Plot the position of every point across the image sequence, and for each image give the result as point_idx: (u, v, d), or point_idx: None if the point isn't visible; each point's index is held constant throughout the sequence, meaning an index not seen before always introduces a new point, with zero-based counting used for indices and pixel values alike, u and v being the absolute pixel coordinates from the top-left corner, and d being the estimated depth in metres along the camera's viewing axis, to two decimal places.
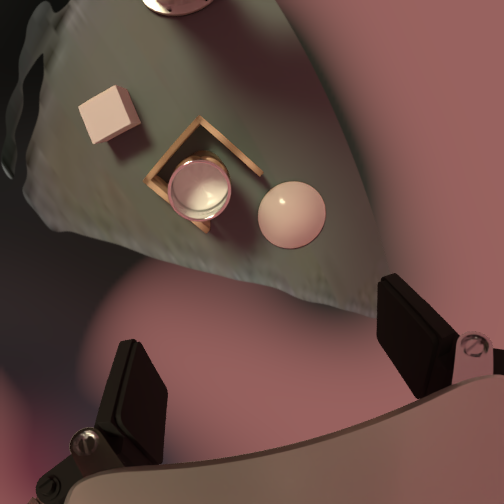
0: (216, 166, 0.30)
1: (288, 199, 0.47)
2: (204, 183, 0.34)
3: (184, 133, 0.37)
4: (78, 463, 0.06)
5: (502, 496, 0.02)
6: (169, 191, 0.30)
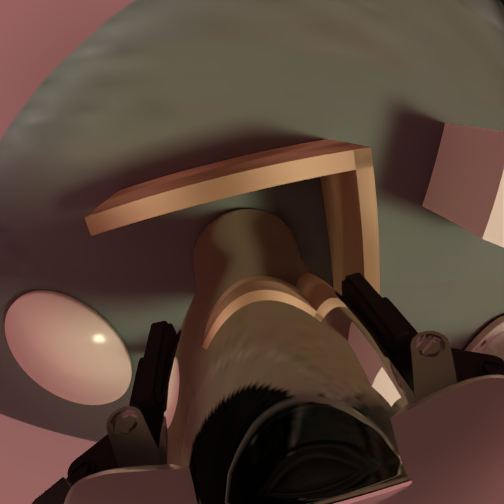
0: None
1: (96, 368, 0.19)
2: None
3: None
4: (112, 441, 0.06)
5: (502, 496, 0.02)
6: None
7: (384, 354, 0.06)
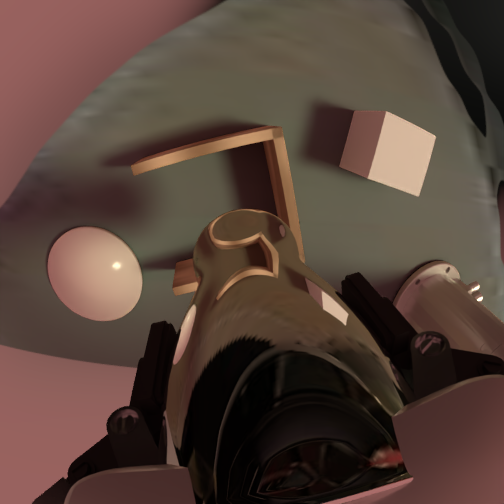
0: None
1: (117, 284, 0.30)
2: None
3: (297, 230, 0.25)
4: (112, 441, 0.06)
5: (502, 496, 0.02)
6: None
7: (383, 352, 0.06)
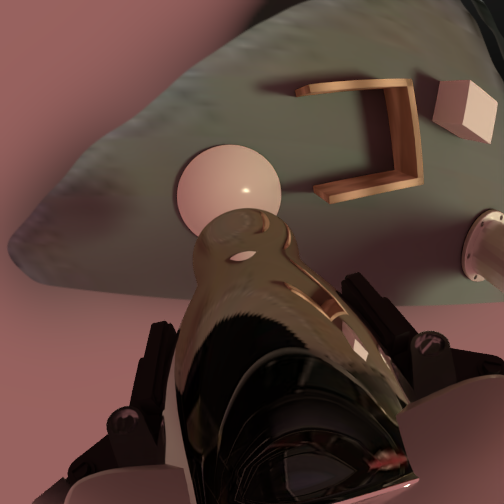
0: None
1: (254, 204, 0.33)
2: None
3: (420, 156, 0.28)
4: (112, 441, 0.06)
5: (502, 496, 0.02)
6: None
7: (385, 353, 0.06)
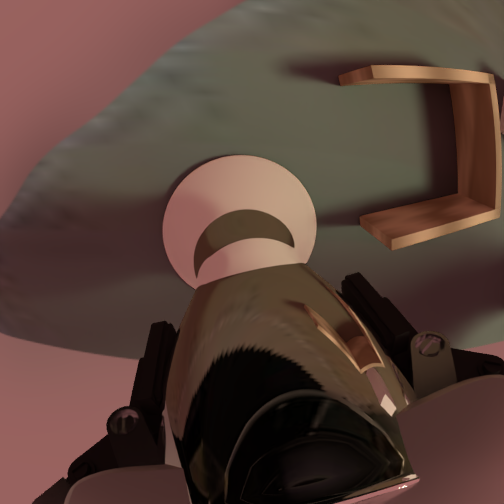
0: None
1: None
2: None
3: (500, 181, 0.18)
4: (112, 441, 0.06)
5: (502, 496, 0.02)
6: None
7: (385, 353, 0.06)
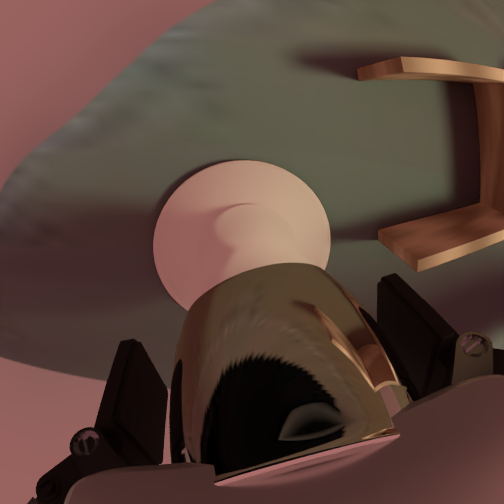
0: None
1: None
2: None
3: None
4: (78, 463, 0.06)
5: (502, 496, 0.02)
6: None
7: (376, 329, 0.07)
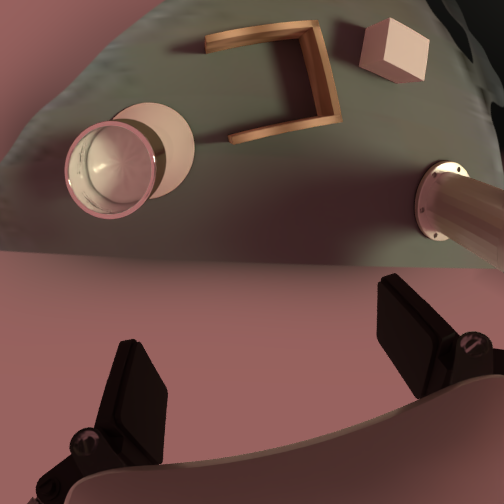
0: (127, 212, 0.19)
1: None
2: (120, 168, 0.21)
3: (335, 93, 0.28)
4: (78, 463, 0.06)
5: (502, 496, 0.02)
6: (131, 129, 0.17)
7: (144, 123, 0.20)
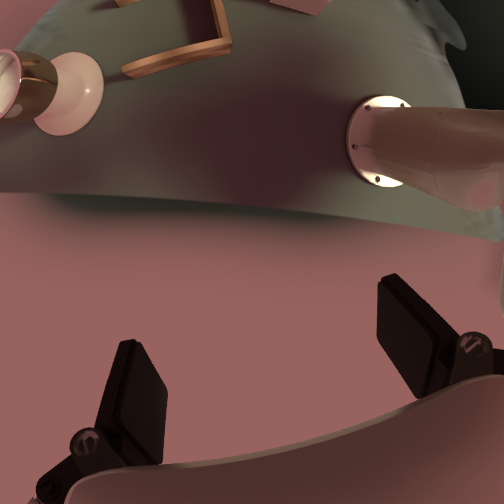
0: (1, 115, 0.16)
1: None
2: (15, 91, 0.19)
3: (224, 18, 0.25)
4: (78, 463, 0.06)
5: (502, 496, 0.02)
6: (10, 52, 0.14)
7: (32, 53, 0.17)
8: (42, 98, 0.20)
